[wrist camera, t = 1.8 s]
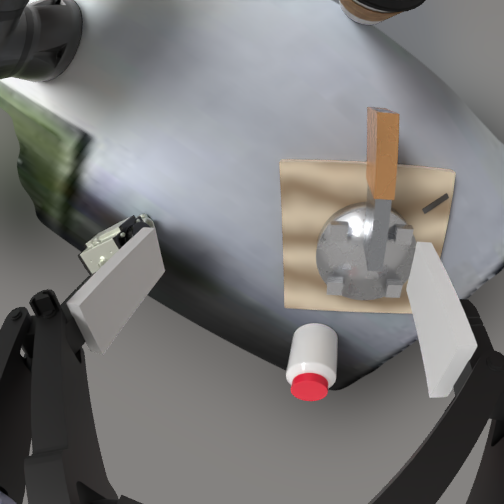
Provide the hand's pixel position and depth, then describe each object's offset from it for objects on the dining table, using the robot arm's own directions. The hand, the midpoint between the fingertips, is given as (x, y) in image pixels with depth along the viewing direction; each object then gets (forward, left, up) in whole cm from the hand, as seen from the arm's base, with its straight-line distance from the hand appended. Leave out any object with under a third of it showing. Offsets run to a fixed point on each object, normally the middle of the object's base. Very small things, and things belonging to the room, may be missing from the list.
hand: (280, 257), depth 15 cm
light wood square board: (+12, +8, -25) cm, 29 cm away
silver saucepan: (+7, +8, -23) cm, 25 cm away
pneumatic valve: (+10, -25, -25) cm, 37 cm away
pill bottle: (+31, +2, -25) cm, 40 cm away
